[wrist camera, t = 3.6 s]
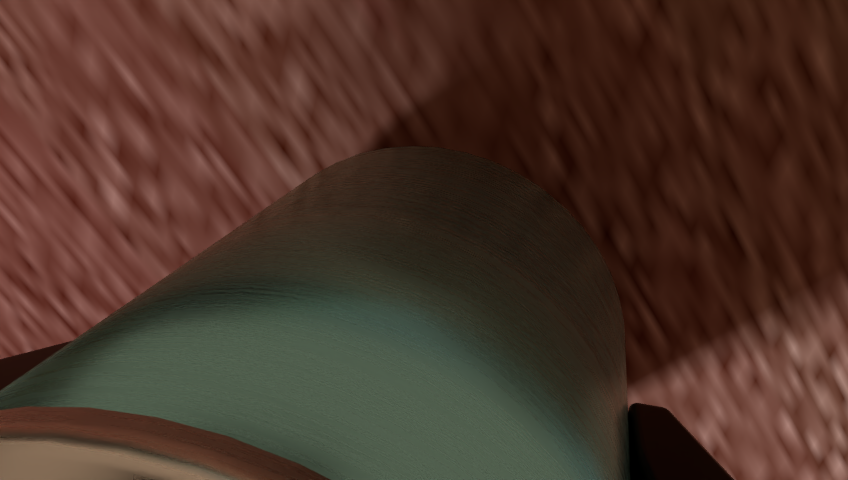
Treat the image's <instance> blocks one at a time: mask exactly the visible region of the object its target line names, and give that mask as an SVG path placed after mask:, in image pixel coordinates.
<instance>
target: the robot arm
mask: <svg viewBox="0 0 848 480" xmlns="http://www.w3.org/2000/svg"><path fill="white" fill-rule="evenodd" d="M70 342H72V341H70ZM70 342H66V343H62V344H58V345H54V346H50V347H47V348H43V349H39V350H35V351H31V352H27V353H23V354H19V355H15V356H12V357H8V358H4V359H0V390H2V389H3V388H5V387H6V386H8V385H9V384H11V383H12V382H14V381H15V380H16V379H18V378H19V377H21V376H22V375H24V374H25V373H27V372H28V371H30V370H31V369H32V368H34V367H35V366H37V365H38V364H40V363H41V362H43V361H44V360H46V359H47V358H48V357H50V356H51V355H53V354H54V353H56V352H57V351H59V350H60V349H62V348H63V347H64V346H66V345H67V344H69V343H70ZM628 427H629V451H630V476H631V480H734V479H733V478H732V477H731V476H730V475H729V474H728V473H727V472H726V471H725V469H724V468H723V467H722V466H721V465H720V464H719V463H718V462H717V461H716V460H715V459H714V458H713V457H712V456H711V455H710V454H709V452H708V451H707V450H706V449H705V448H704V447H703V446H702V445H701V444H700V443H699V442H698V441H697V440H696V439H695V438H694V437H693V436H692V434H691V433H690V432H689V431H688V430H687V429H686V428H685V427H684V426H683V425H682V424H681V423H680V422H679V421H678V420H677V419H676V417H675V416H674V415H673V414H672V413H671V412H670V411H669V410H667V409H666V408H663V407H658V406H652V405H646V404H641V403H634V404H632V405H631V406H630V408H629V411H628Z"/></svg>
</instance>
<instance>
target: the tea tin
mask: <svg viewBox="0 0 848 480" xmlns="http://www.w3.org/2000/svg"><path fill="white" fill-rule="evenodd" d="M0 480H631V476H630V451H629V427H628V403H627V378H626V354H625V332H624V319H623V314H622V309H621V304H620V299H619V295H618V293H617V290H616V287H615V284H614V281H613V278H612V276H611V273H610V271H609V269H608V267H607V265H606V263H605V261H604V259H603V257H602V255H601V253H600V252H599V250H598V248H597V247H596V245H595V244H594V242H593V241H592V240H591V238H590V237H589V235H588V234H587V232H586V231H585V230H584V228H583V227H582V226H581V225H580V223H579V222H578V221H577V220H576V219H575V218H574V217H573V216H572V215H571V214H570V213H569V212H568V211H567V209H566V208H565V207H564V206H563V205H561V204H560V203H559V202H558V201H557V200H555V199H554V198H553V197H552V196H551V195H549V194H548V193H547V192H546V191H545V190H543V189H542V188H541V187H539V186H538V185H536V184H534V183H533V182H531V181H530V180H528V179H526V178H525V177H523V176H522V175H520V174H519V173H517V172H515V171H512V170H510V169H508V168H506V167H504V166H502V165H500V164H498V163H495V162H493V161H491V160H488V159H484V158H481V157H478V156H475V155H472V154H469V153H466V152H460V151H455V150H450V149H444V148H439V147H420V146H406V147H393V148H384V149H379V150H375V151H370V152H366V153H361V154H358V155H355V156H353V157H350V158H347V159H345V160H342V161H339V162H337V163H335V164H333V165H331V166H329V167H328V168H326V169H324V170H322V171H320V172H318V173H317V174H315V175H314V176H312V177H311V178H309V179H308V180H306V181H305V182H303V183H302V184H300V185H299V186H297V187H296V188H295V189H293V190H292V191H290V192H289V193H287V194H286V195H284V196H283V197H281V198H280V199H279V200H277V201H276V202H274V203H273V204H271V205H270V206H268V207H267V208H265V209H264V210H263V211H261V212H260V213H258V214H257V215H255V216H254V217H252V218H251V219H249V220H248V221H247V222H245V223H244V224H242V225H241V226H239V227H238V228H236V229H235V230H233V231H232V232H230V233H229V234H228V235H226V236H225V237H223V238H222V239H220V240H219V241H217V242H216V243H214V244H213V245H212V246H210V247H209V248H207V249H206V250H204V251H203V252H201V253H200V254H198V255H197V256H196V257H194V258H193V259H191V260H190V261H188V262H187V263H185V264H184V265H182V266H181V267H180V268H178V269H177V270H175V271H174V272H172V273H171V274H169V275H168V276H166V277H165V278H164V279H162V280H161V281H159V282H158V283H156V284H155V285H153V286H152V287H150V288H149V289H147V290H146V291H145V292H143V293H142V294H140V295H139V296H137V297H136V298H134V299H133V300H131V301H130V302H129V303H127V304H126V305H124V306H123V307H121V308H120V309H118V310H117V311H115V312H114V313H113V314H111V315H110V316H108V317H107V318H105V319H104V320H102V321H101V322H99V323H98V324H97V325H95V326H94V327H92V328H91V329H89V330H88V331H86V332H85V333H83V334H82V335H80V336H79V337H78V338H76V339H75V340H73V341H72V342H70V343H69V344H67V345H66V346H64V347H63V348H62V349H60V350H59V351H57V352H56V353H54V354H53V355H51V356H50V357H48V358H47V359H46V360H44V361H43V362H41V363H40V364H38V365H37V366H35V367H34V368H32V369H31V370H30V371H28V372H27V373H25V374H24V375H22V376H21V377H19V378H18V379H16V380H15V381H14V382H12V383H11V384H9V385H8V386H6V387H5V388H3V389H2V390H0Z"/></svg>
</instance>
